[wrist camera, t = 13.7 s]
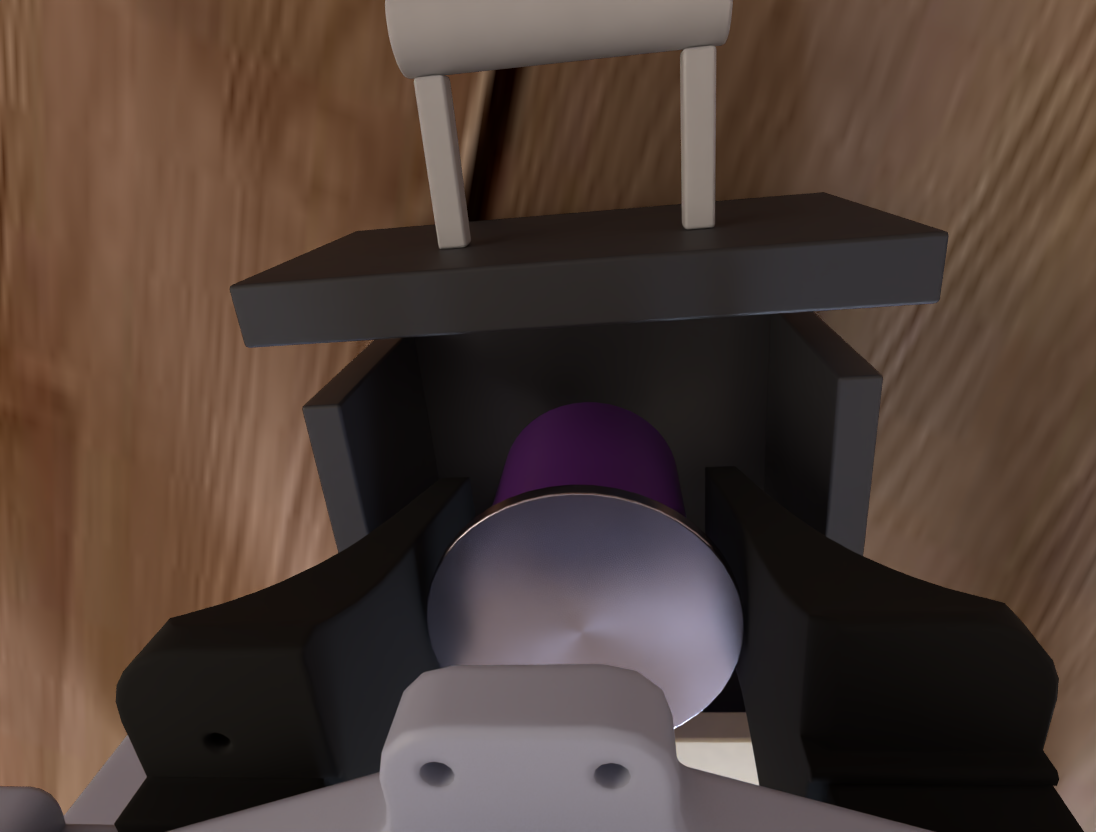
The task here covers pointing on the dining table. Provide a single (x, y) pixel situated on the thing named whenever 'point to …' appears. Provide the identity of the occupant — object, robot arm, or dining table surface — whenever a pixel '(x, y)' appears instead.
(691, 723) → the mini desk drawer box
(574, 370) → the pod drawer
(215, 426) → the dining table surface
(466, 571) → the coffee pod
